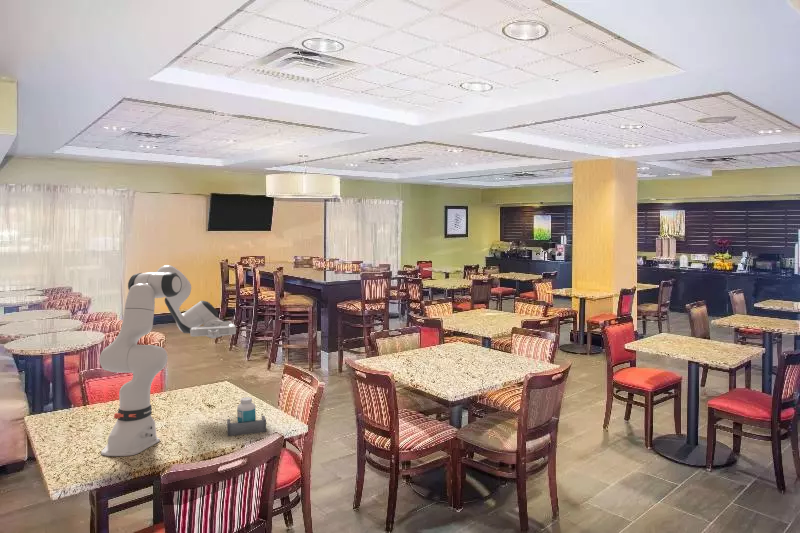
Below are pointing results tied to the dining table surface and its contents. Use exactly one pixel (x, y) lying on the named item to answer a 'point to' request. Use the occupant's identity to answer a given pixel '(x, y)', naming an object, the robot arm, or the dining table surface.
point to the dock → (246, 427)
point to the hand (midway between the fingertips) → (213, 333)
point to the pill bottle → (246, 410)
